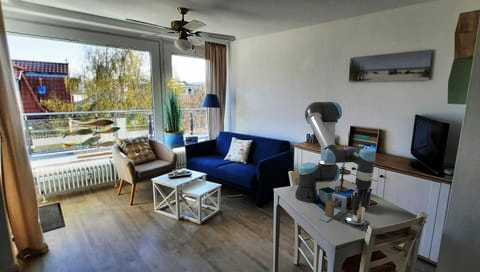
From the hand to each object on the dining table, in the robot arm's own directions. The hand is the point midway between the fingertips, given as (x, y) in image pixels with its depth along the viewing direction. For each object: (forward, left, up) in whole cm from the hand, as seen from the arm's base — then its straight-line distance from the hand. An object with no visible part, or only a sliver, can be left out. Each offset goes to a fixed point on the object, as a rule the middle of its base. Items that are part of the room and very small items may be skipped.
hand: (357, 219), depth 136 cm
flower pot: (-24, +14, -4) cm, 28 cm away
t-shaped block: (-15, +2, -4) cm, 16 cm away
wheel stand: (-2, +2, -4) cm, 5 cm away
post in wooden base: (-15, +6, -3) cm, 17 cm away
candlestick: (-27, +42, -4) cm, 50 cm away
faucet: (-2, +2, -3) cm, 4 cm away
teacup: (-8, +25, -4) cm, 27 cm away
